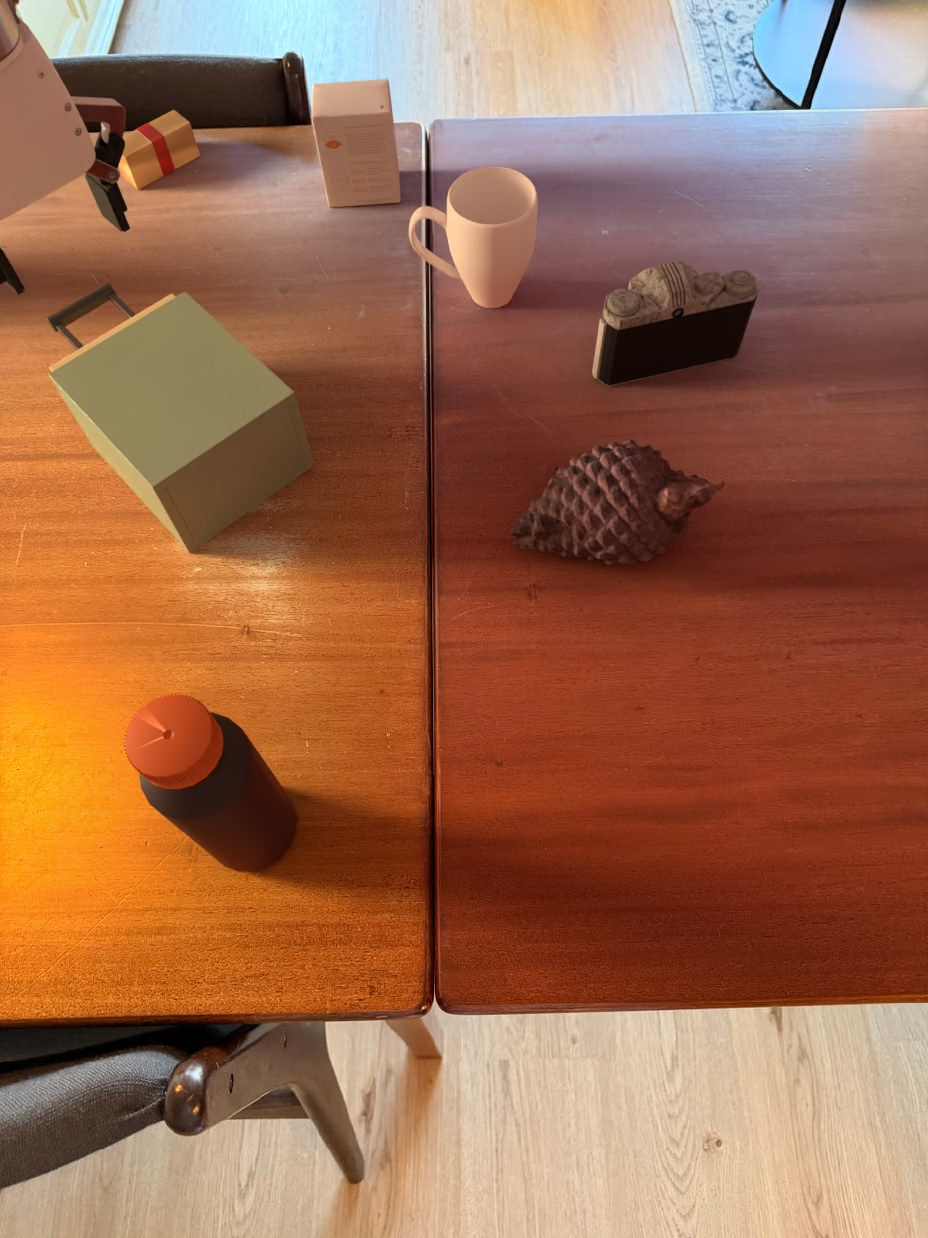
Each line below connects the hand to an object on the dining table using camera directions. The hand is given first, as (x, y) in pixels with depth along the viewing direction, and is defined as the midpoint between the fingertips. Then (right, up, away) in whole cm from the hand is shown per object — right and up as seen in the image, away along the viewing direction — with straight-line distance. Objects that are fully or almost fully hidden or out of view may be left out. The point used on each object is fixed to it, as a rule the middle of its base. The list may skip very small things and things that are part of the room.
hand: (65, 252), depth 71 cm
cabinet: (+7, -14, +12) cm, 20 cm away
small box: (+20, +18, +28) cm, 39 cm away
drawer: (+4, -10, +13) cm, 17 cm away
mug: (+32, +4, +21) cm, 39 cm away
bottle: (+16, -44, -4) cm, 47 cm away
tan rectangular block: (-3, +22, +31) cm, 38 cm away
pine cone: (+44, -21, +7) cm, 49 cm away
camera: (+50, -3, +17) cm, 53 cm away
